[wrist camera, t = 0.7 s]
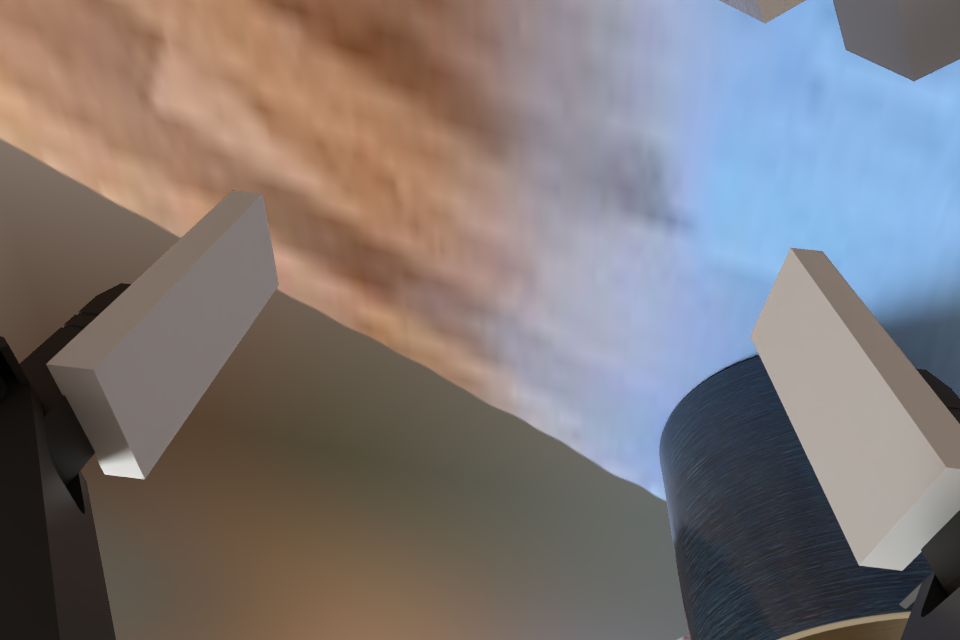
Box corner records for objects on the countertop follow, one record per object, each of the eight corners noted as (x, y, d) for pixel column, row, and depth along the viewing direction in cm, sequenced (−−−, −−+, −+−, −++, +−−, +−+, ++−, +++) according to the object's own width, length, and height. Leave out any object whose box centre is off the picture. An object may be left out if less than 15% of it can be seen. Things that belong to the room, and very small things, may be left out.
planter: (648, 519, 56) (687, 764, 40) (660, 345, 44) (725, 602, 27) (891, 521, 53) (1042, 791, 37) (981, 334, 40) (1274, 619, 24)
